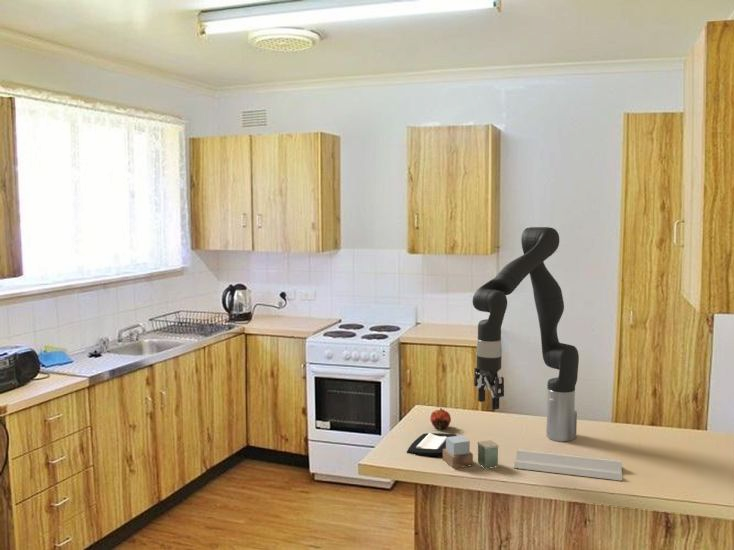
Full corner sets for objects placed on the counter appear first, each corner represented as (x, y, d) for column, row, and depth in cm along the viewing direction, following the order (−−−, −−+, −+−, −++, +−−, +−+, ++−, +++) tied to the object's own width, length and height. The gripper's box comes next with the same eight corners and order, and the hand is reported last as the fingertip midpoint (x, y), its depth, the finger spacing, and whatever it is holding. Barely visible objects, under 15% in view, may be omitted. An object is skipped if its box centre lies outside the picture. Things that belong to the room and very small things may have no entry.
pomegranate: (450, 437, 235) (455, 414, 242) (445, 425, 231) (450, 402, 238) (431, 436, 238) (435, 414, 245) (425, 425, 234) (430, 402, 241)
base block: (462, 458, 211) (462, 446, 210) (472, 466, 204) (472, 453, 204) (442, 461, 209) (442, 449, 208) (452, 469, 202) (452, 457, 202)
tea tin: (490, 461, 207) (490, 440, 207) (498, 467, 203) (498, 445, 202) (477, 463, 206) (477, 442, 205) (484, 469, 201) (485, 447, 201)
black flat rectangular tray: (421, 429, 233) (459, 431, 227) (422, 437, 233) (460, 439, 228) (403, 449, 215) (443, 450, 209) (403, 457, 215) (444, 459, 209)
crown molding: (513, 470, 202) (514, 459, 201) (518, 456, 213) (518, 446, 213) (622, 483, 192) (622, 471, 191) (620, 467, 203) (620, 456, 203)
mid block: (461, 447, 210) (461, 435, 209) (469, 453, 204) (469, 441, 204) (445, 449, 208) (445, 437, 207) (453, 455, 203) (453, 443, 202)
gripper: (512, 357, 195) (511, 410, 197) (488, 348, 208) (487, 397, 210) (490, 360, 193) (489, 413, 194) (467, 350, 206) (466, 400, 208)
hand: (488, 405), depth 202 cm, fingers open, 8 cm apart
